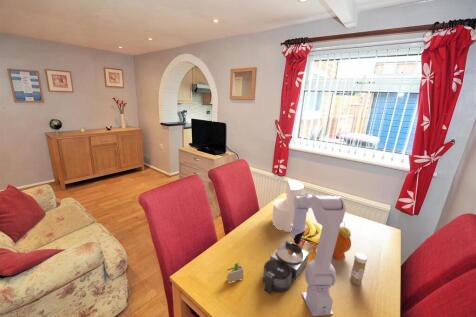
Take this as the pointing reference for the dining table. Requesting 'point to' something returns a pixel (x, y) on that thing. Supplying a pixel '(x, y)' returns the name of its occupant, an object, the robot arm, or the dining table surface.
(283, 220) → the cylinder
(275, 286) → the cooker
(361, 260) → the sprinkles bottle
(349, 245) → the orange lumpy piece
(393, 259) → the dining table surface
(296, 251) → the lid
